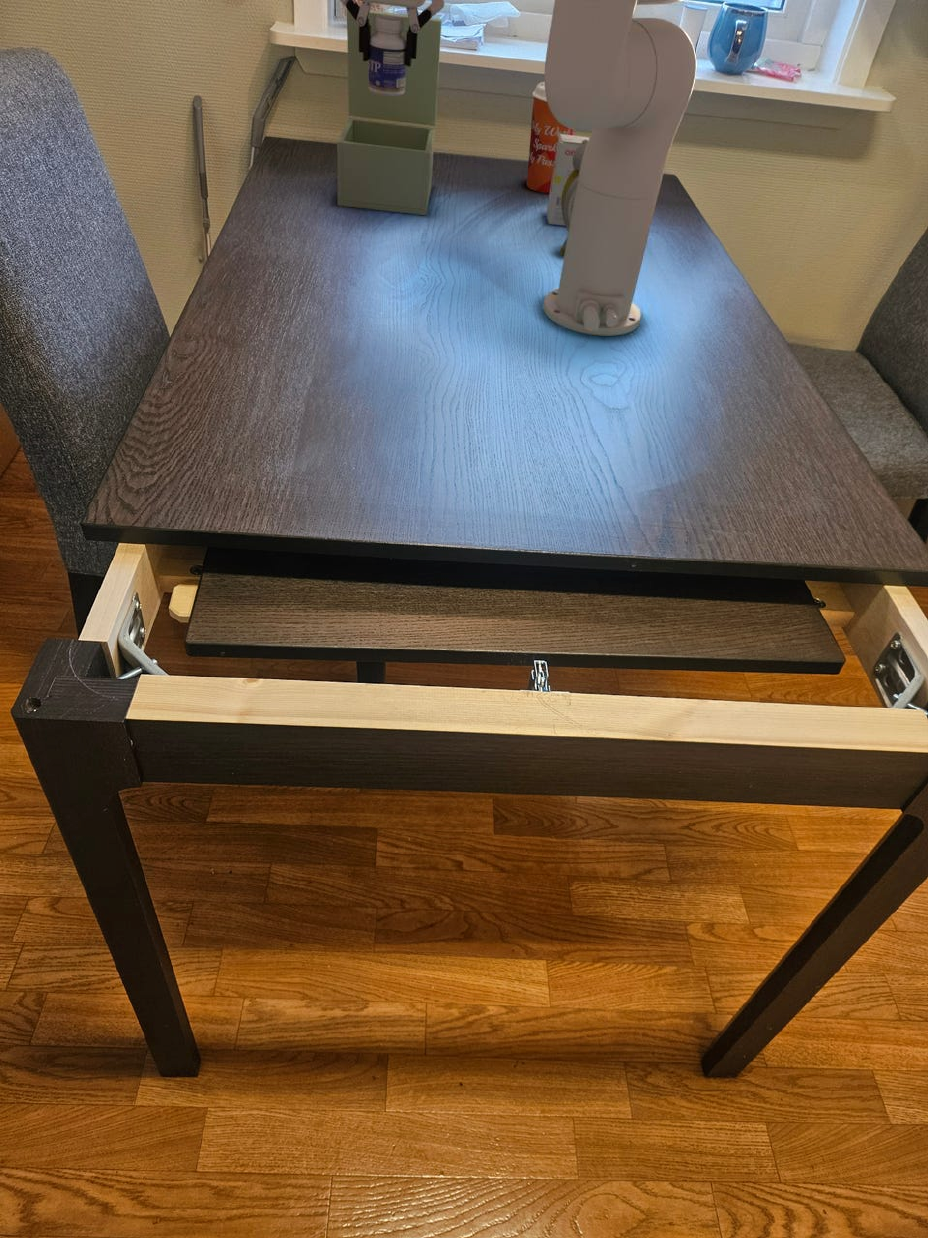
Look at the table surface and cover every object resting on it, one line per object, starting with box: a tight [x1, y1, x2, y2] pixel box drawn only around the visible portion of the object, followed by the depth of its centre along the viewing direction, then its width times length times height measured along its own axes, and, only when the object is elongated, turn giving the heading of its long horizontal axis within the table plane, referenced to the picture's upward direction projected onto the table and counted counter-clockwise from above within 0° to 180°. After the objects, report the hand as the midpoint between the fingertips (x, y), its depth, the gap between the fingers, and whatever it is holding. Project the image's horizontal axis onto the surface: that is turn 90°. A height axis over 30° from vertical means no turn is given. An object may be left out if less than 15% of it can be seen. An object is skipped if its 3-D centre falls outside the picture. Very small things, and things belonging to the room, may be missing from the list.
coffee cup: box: [526, 81, 575, 194], centre depth 141 cm, size 8×8×15 cm
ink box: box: [546, 134, 590, 227], centre depth 130 cm, size 9×5×12 cm, turn 89°
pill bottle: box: [369, 15, 406, 96], centre depth 119 cm, size 5×5×9 cm
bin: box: [336, 117, 436, 216], centre depth 131 cm, size 14×14×9 cm
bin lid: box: [346, 9, 443, 127], centre depth 129 cm, size 14×14×6 cm
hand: (387, 60), depth 119 cm, fingers closed on pill bottle, 5 cm apart
